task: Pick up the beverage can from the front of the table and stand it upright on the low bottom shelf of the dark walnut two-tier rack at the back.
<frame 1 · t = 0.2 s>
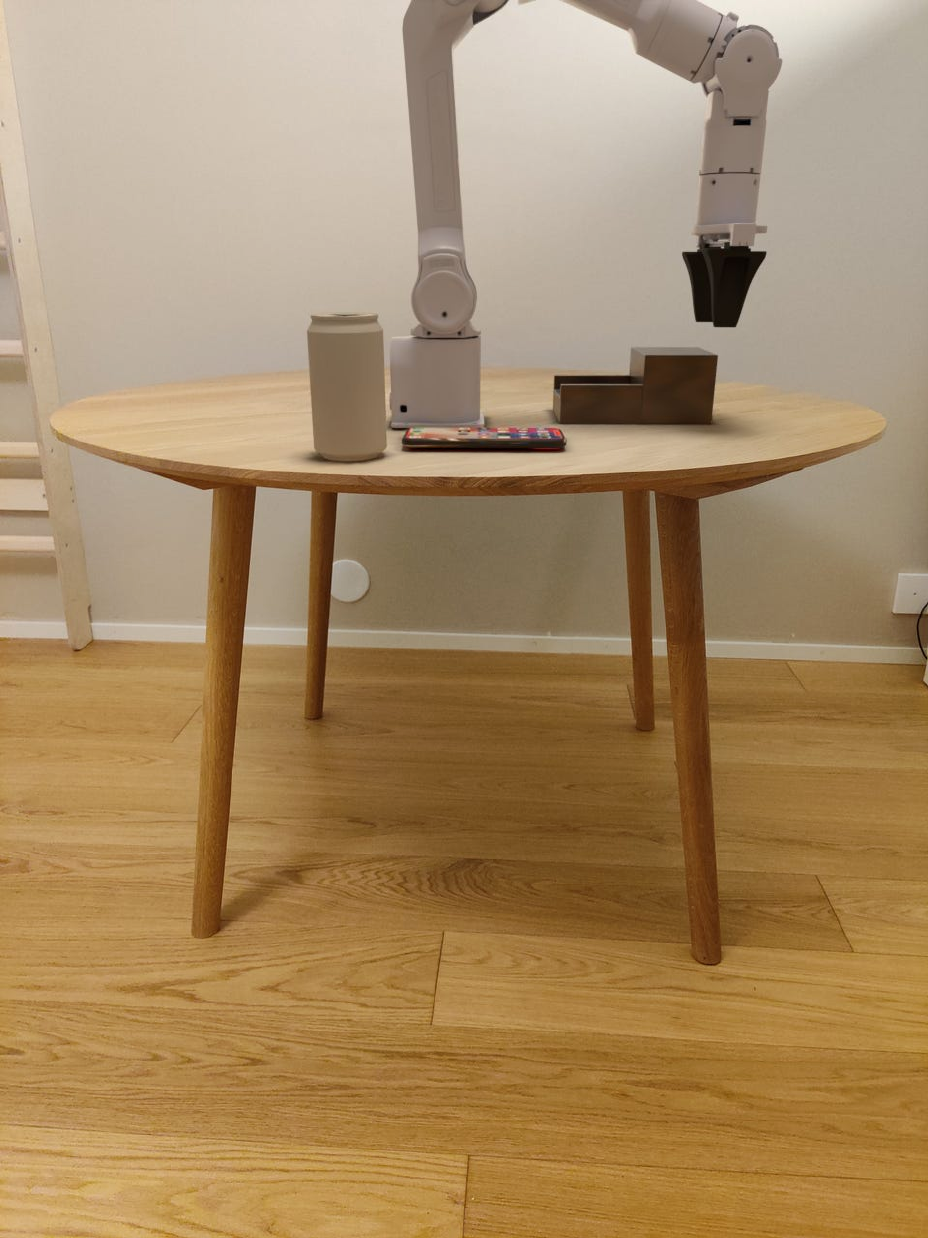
hand: (714, 324, 93), 10 cm above the table, tool pointing down, fingers open, 7 cm apart
rack: (628, 416, 101), on the table
beverage can: (350, 457, 82), on the table
smartphone: (483, 444, 86), on the table
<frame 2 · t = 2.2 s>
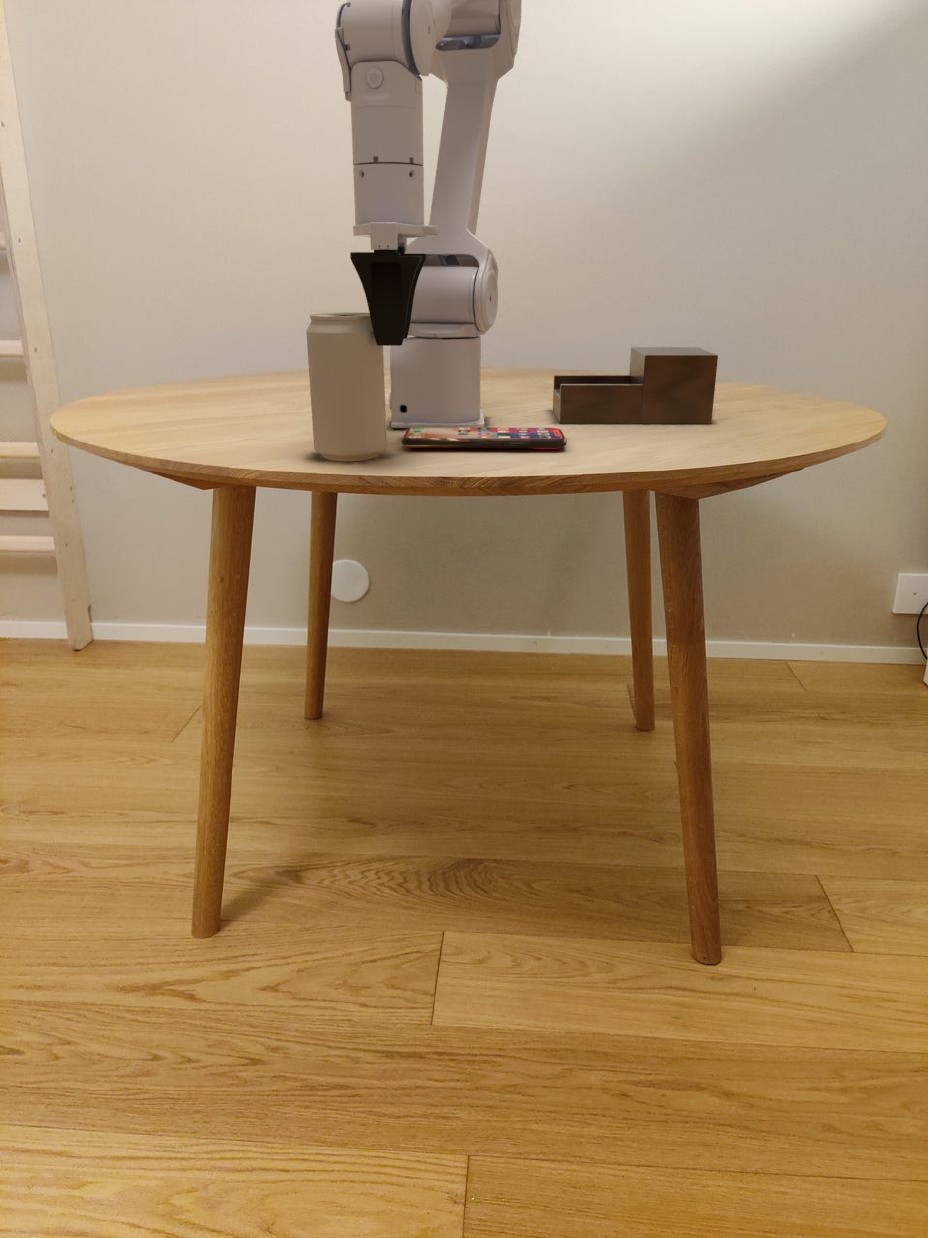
hand: (392, 341, 79), 10 cm above the table, tool pointing down, fingers open, 7 cm apart
beverage can: (351, 457, 82), on the table, touching gripper
everything else where it was.
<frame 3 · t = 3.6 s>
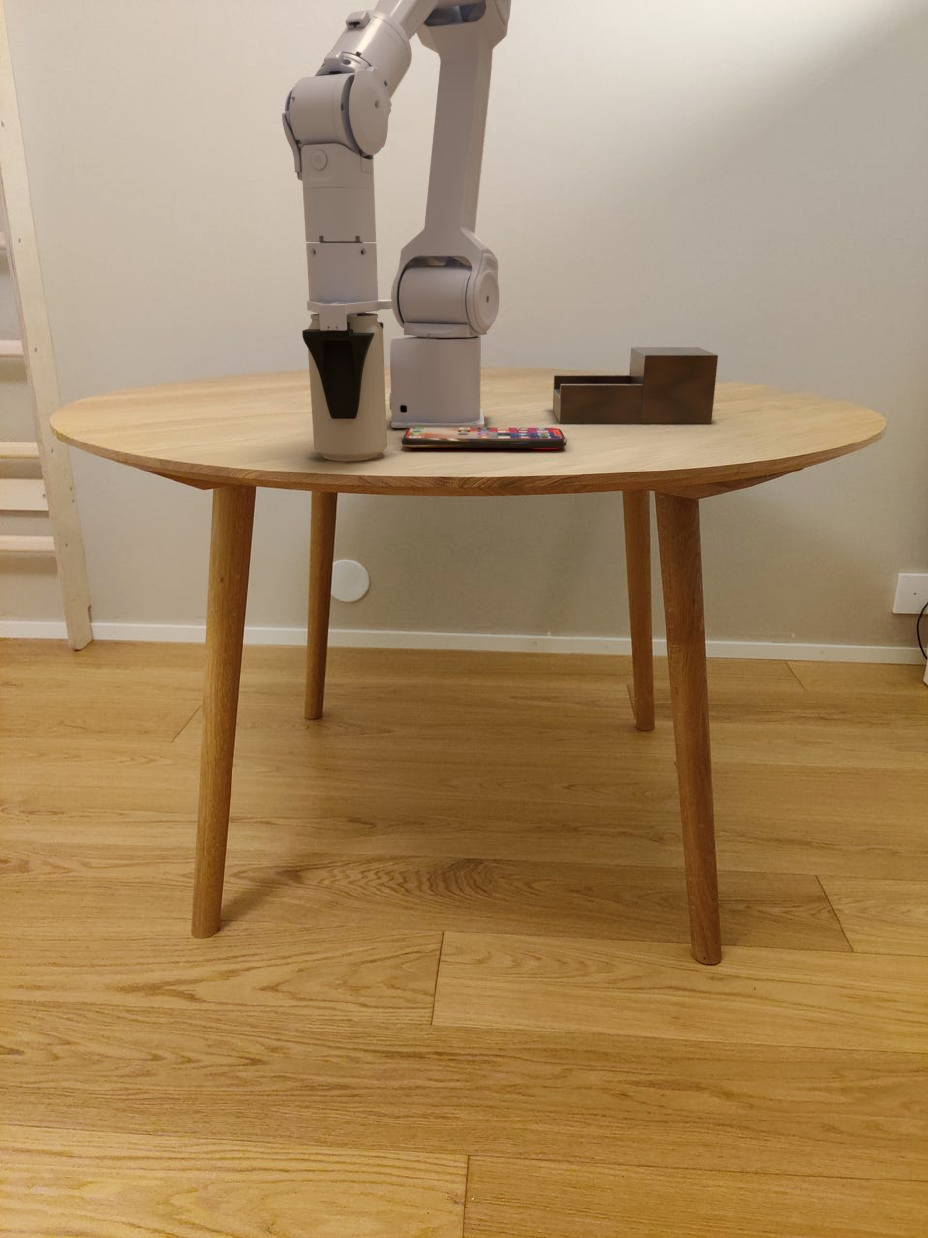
hand: (348, 411, 80), 4 cm above the table, tool pointing down, fingers closed on beverage can, 6 cm apart
beverage can: (351, 457, 82), on the table, touching gripper
everything else where it was.
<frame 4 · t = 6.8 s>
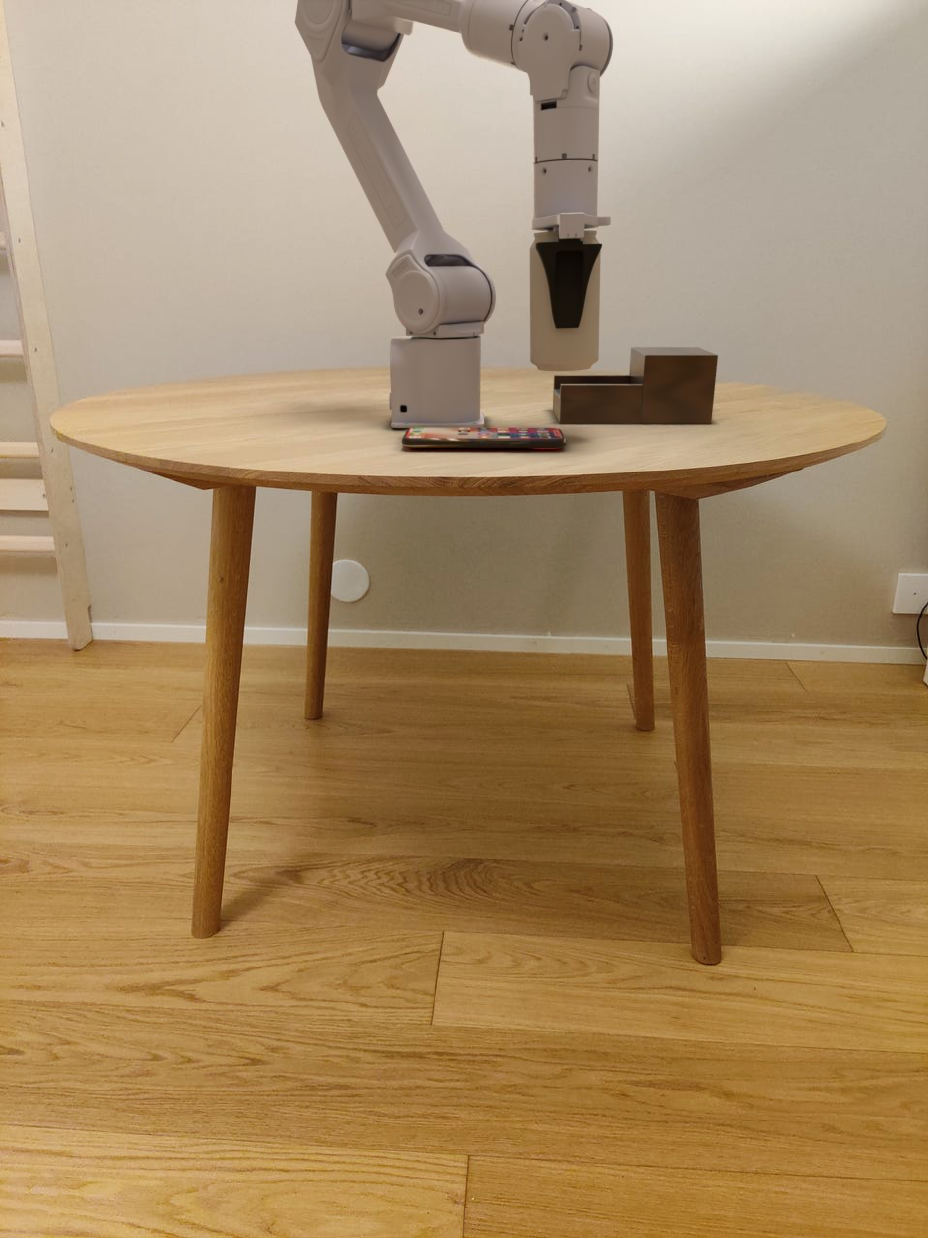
hand: (564, 326, 85), 10 cm above the table, tool pointing down, fingers closed on beverage can, 6 cm apart
beverage can: (564, 370, 87), point 6 cm above the table, touching gripper
everything else where it was.
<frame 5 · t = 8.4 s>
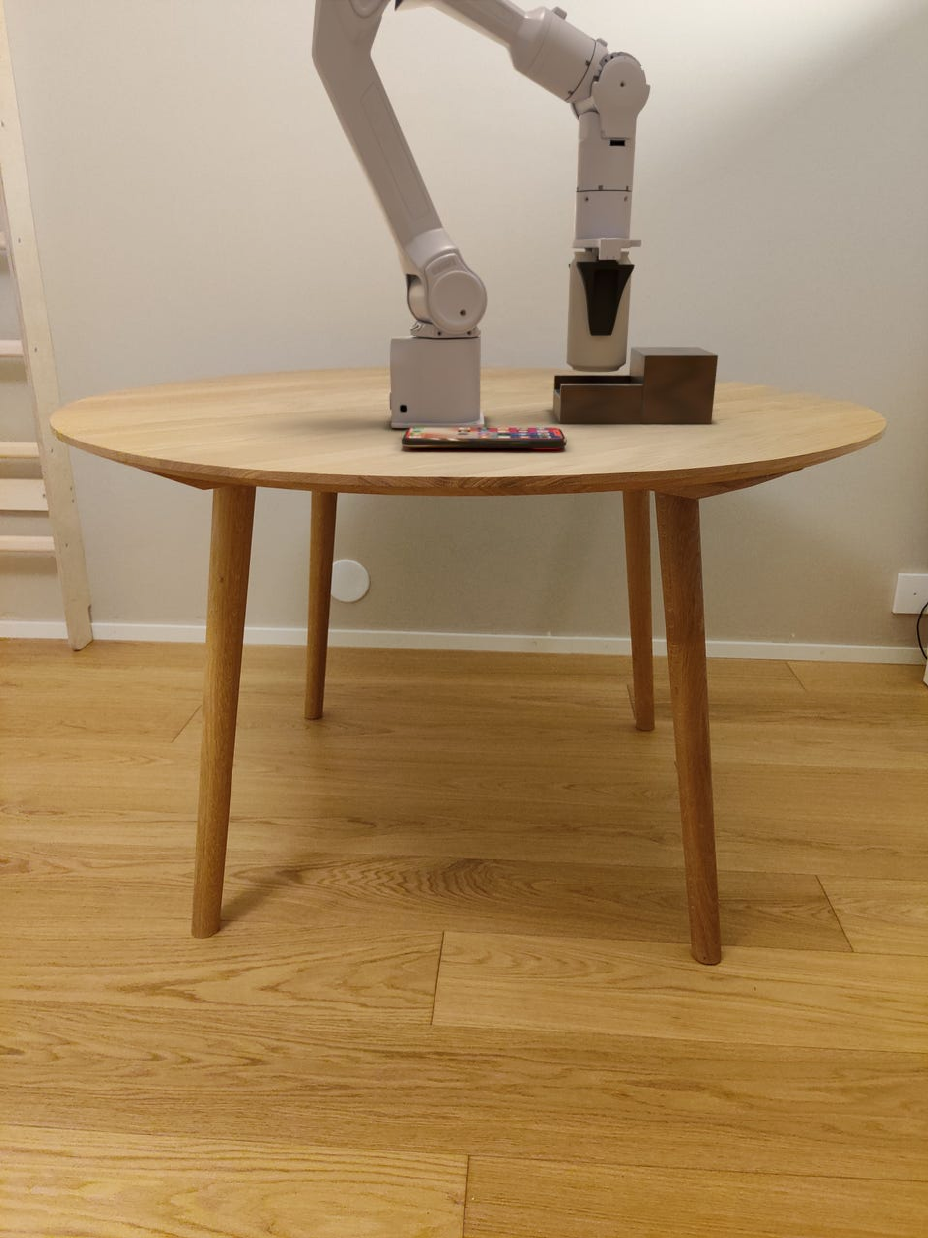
hand: (596, 332, 98), 9 cm above the table, tool pointing down, fingers closed on beverage can, 6 cm apart
beverage can: (595, 371, 100), point 5 cm above the table, touching gripper
everything else where it was.
when the fingers open (6 cm above the table, at t = 9.9 s): beverage can stays where it is, resting on rack.
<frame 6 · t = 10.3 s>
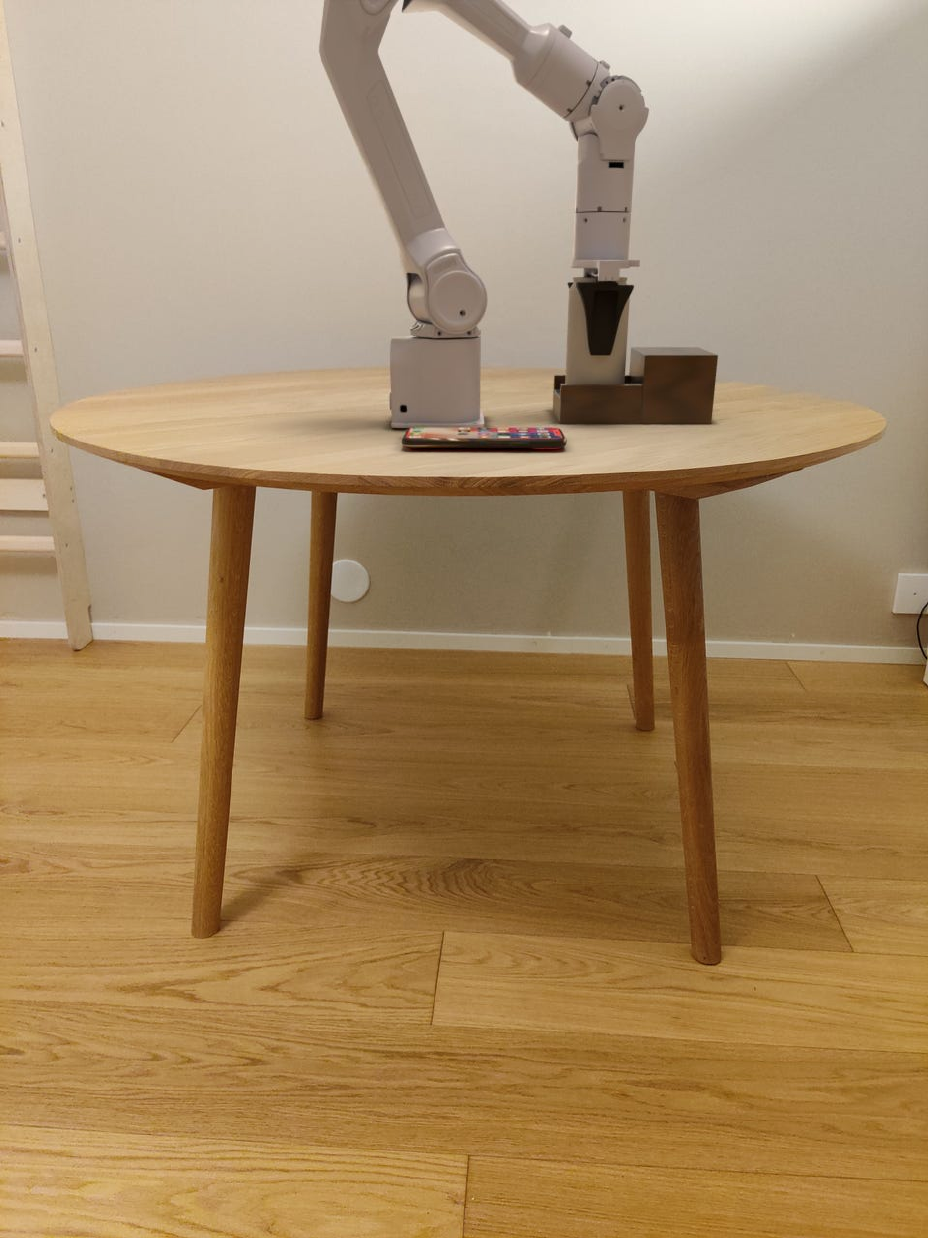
hand: (595, 351, 99), 7 cm above the table, tool pointing down, fingers open, 7 cm apart
beverage can: (594, 395, 100), point 2 cm above the table, touching rack
everything else where it was.
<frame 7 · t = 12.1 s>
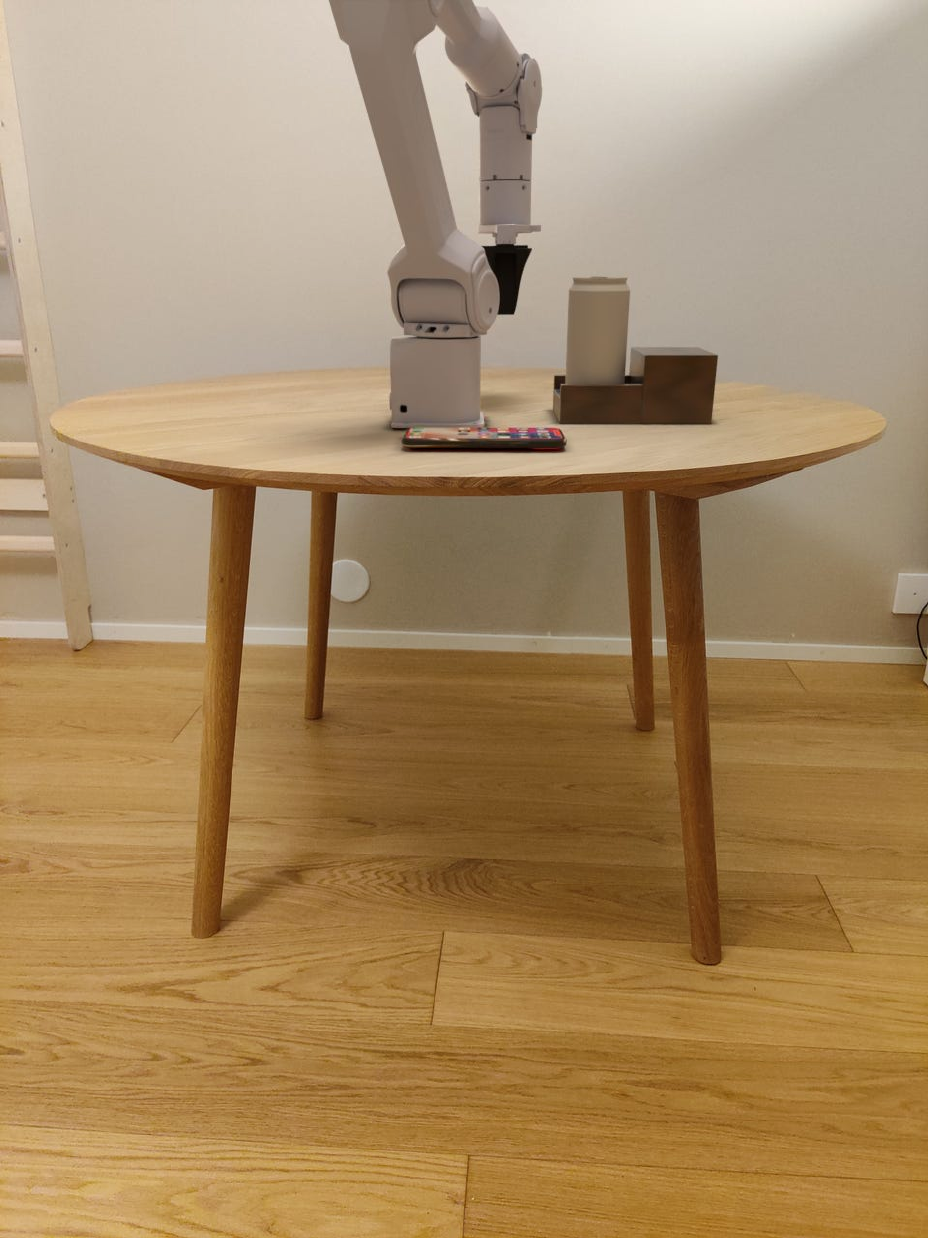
hand: (504, 312, 106), 10 cm above the table, tool pointing down, fingers open, 7 cm apart
nothing on the table moved.
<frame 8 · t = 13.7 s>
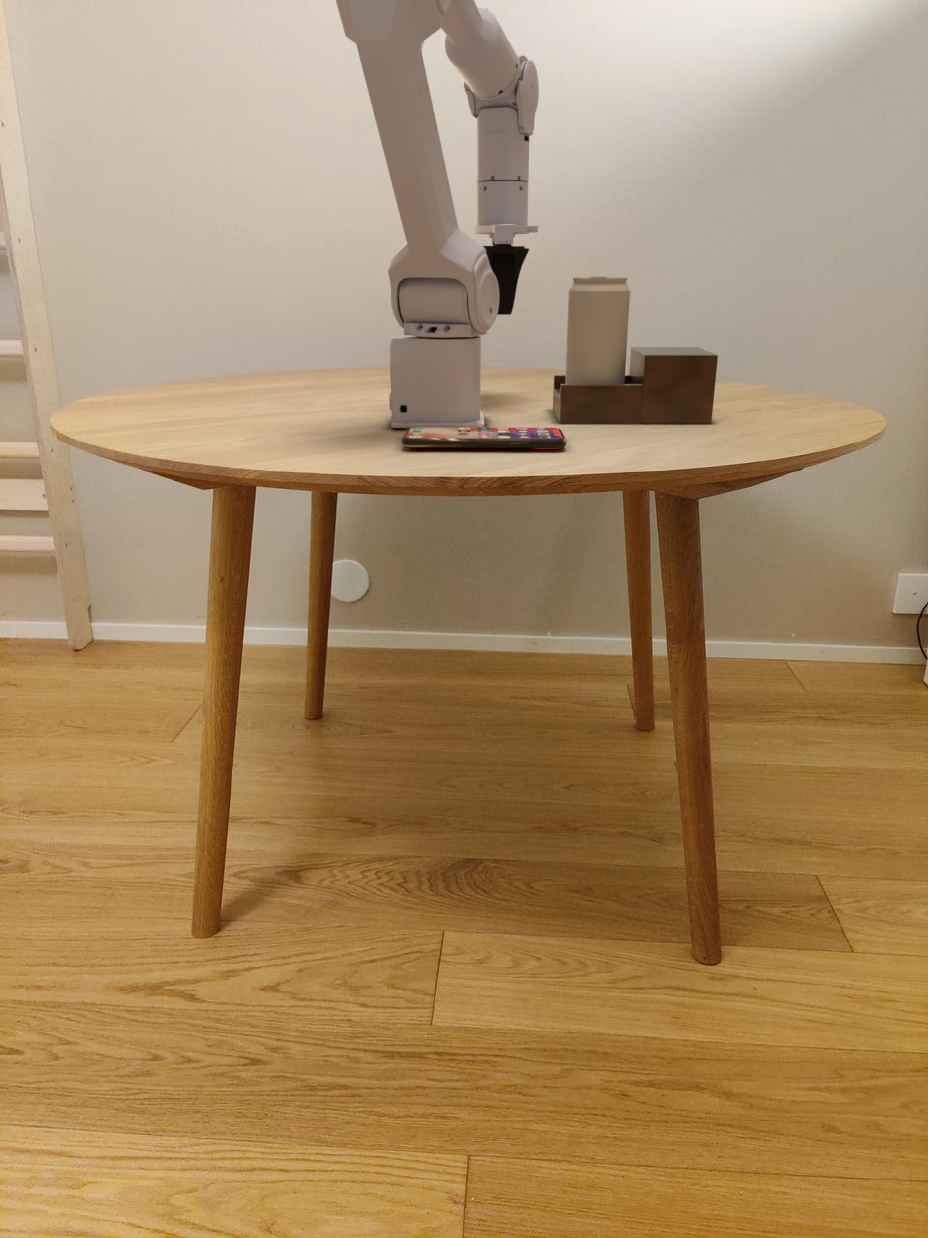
hand: (500, 312, 106), 10 cm above the table, tool pointing down, fingers open, 7 cm apart
nothing on the table moved.
at the end: beverage can inside the target area on the rack (0.1 cm from its centre), point 2.3 cm above the rack's base; beverage can tilted 0°; the gripper is holding nothing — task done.
